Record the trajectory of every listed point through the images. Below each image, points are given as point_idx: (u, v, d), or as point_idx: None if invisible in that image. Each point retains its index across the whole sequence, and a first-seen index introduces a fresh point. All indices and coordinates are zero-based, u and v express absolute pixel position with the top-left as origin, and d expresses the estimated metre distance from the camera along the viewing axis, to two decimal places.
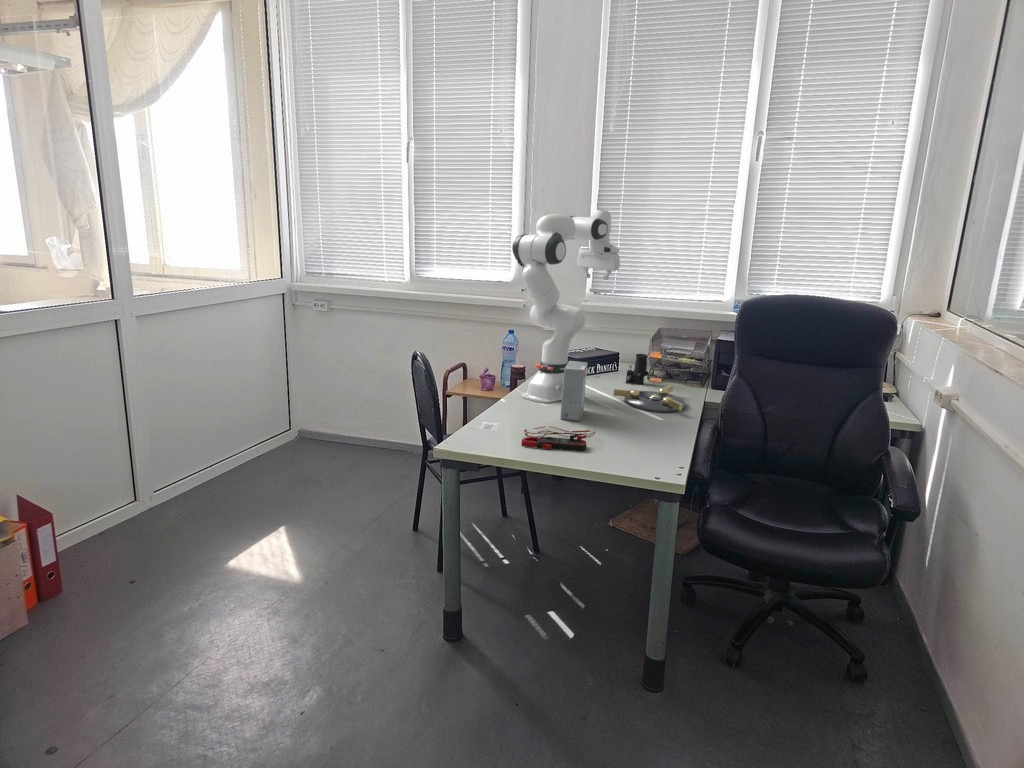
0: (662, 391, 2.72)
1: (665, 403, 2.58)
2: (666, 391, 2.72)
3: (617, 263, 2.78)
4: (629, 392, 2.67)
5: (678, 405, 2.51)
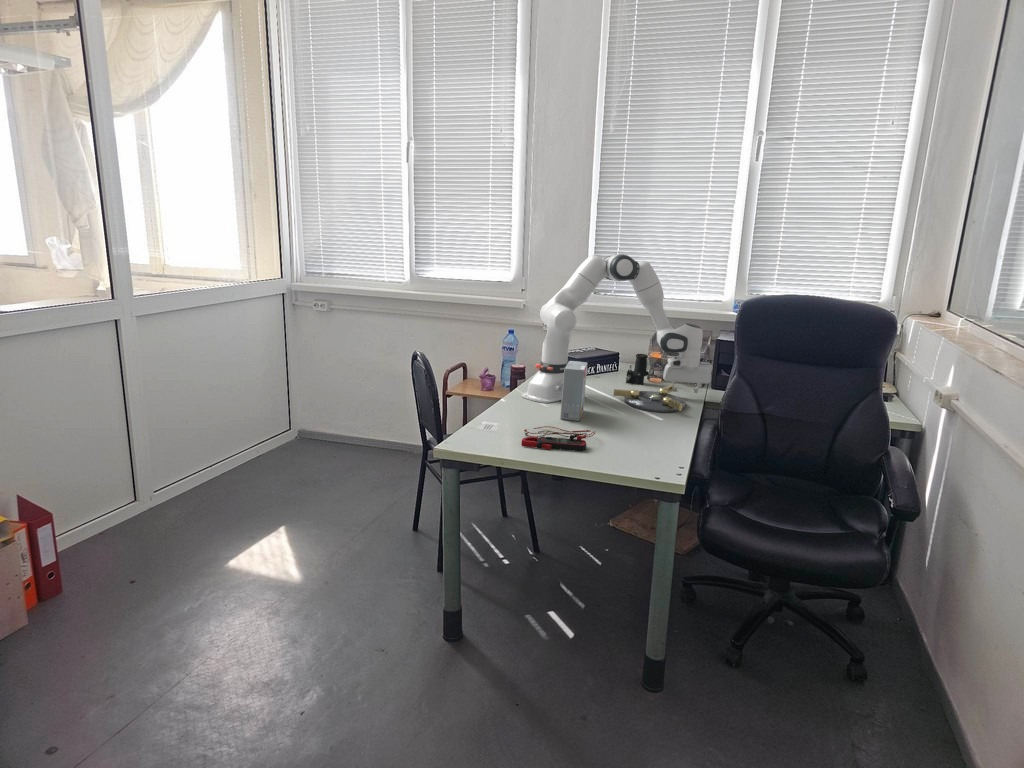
0: (662, 391, 2.72)
1: (665, 403, 2.58)
2: (666, 391, 2.72)
3: (664, 373, 2.77)
4: (629, 392, 2.67)
5: (678, 405, 2.51)
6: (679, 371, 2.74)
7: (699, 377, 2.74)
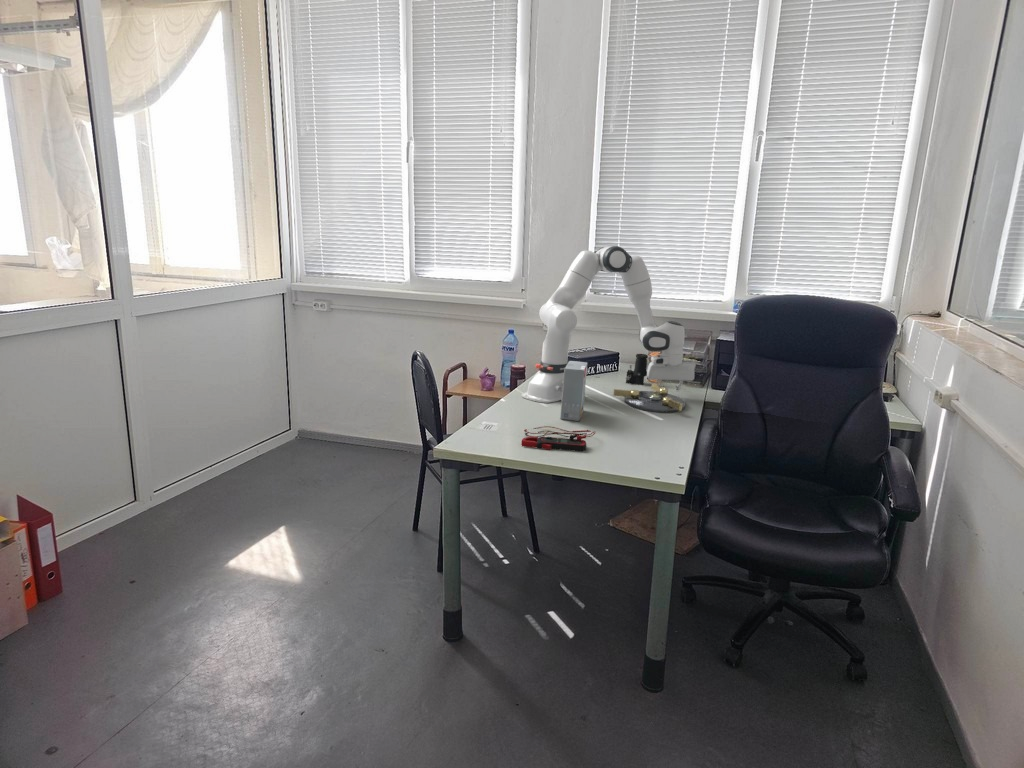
0: (666, 391, 2.72)
1: (665, 403, 2.58)
2: (667, 390, 2.73)
3: (647, 371, 2.77)
4: (629, 392, 2.67)
5: (678, 405, 2.51)
6: (662, 369, 2.75)
7: (682, 374, 2.74)
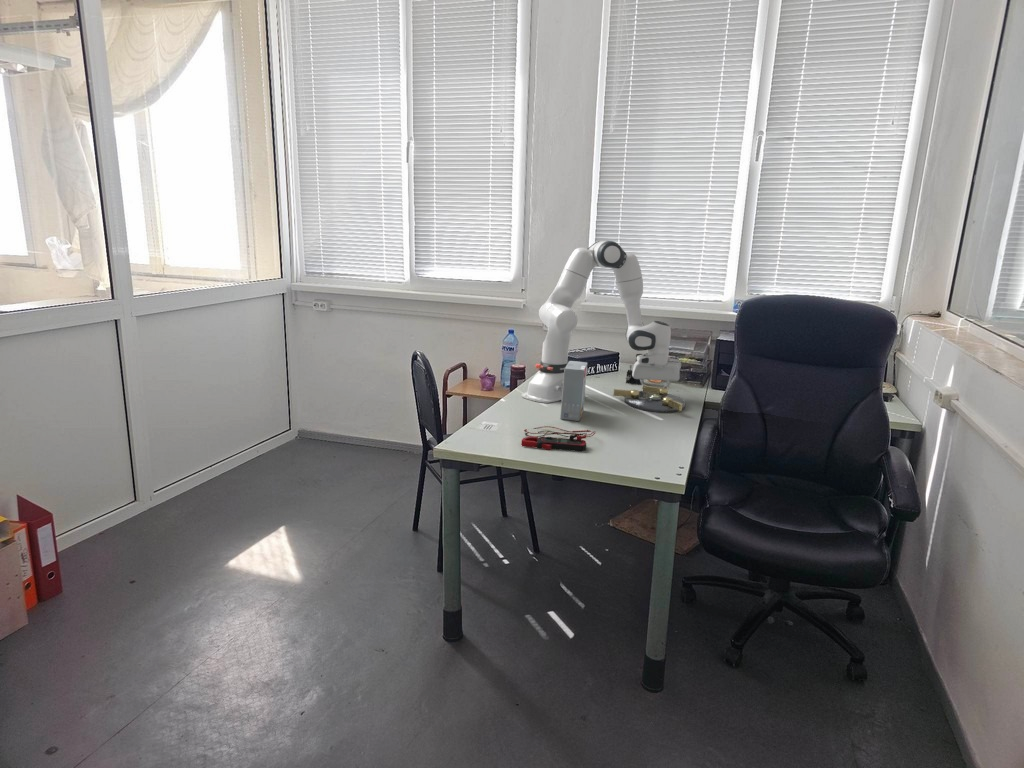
0: (667, 391, 2.73)
1: (665, 403, 2.58)
2: None
3: (633, 370, 2.77)
4: (629, 392, 2.67)
5: (678, 405, 2.51)
6: (648, 368, 2.74)
7: (668, 374, 2.74)
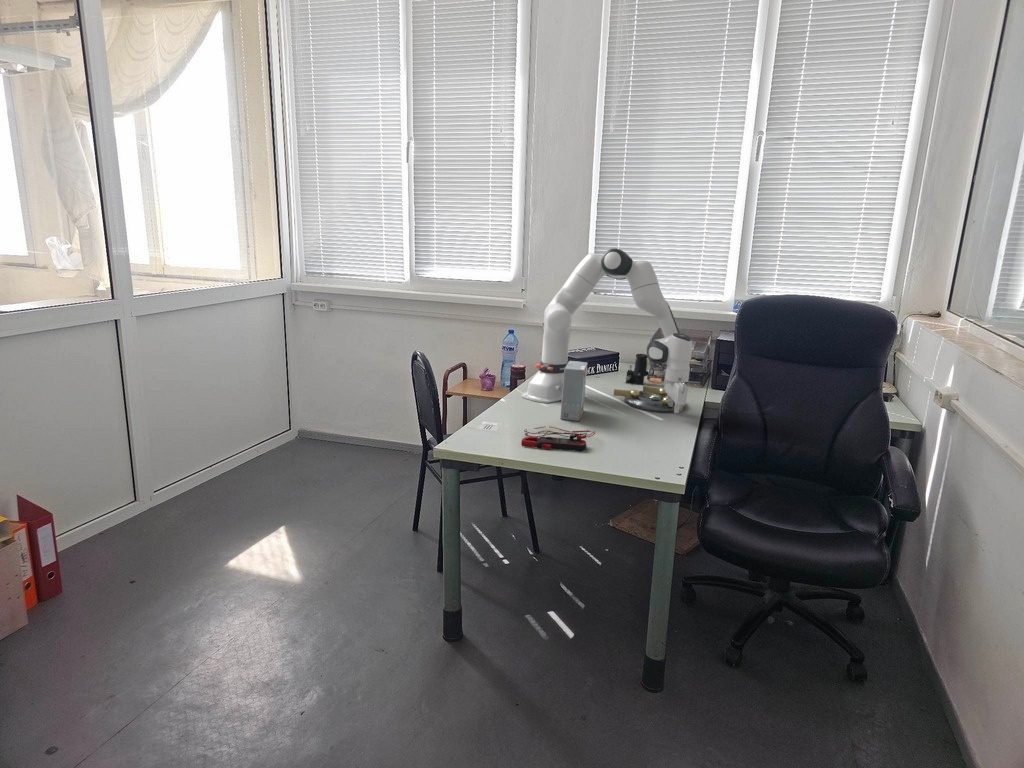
0: None
1: (665, 403, 2.58)
2: None
3: None
4: (629, 392, 2.67)
5: None
6: (669, 383, 2.52)
7: (673, 394, 2.44)
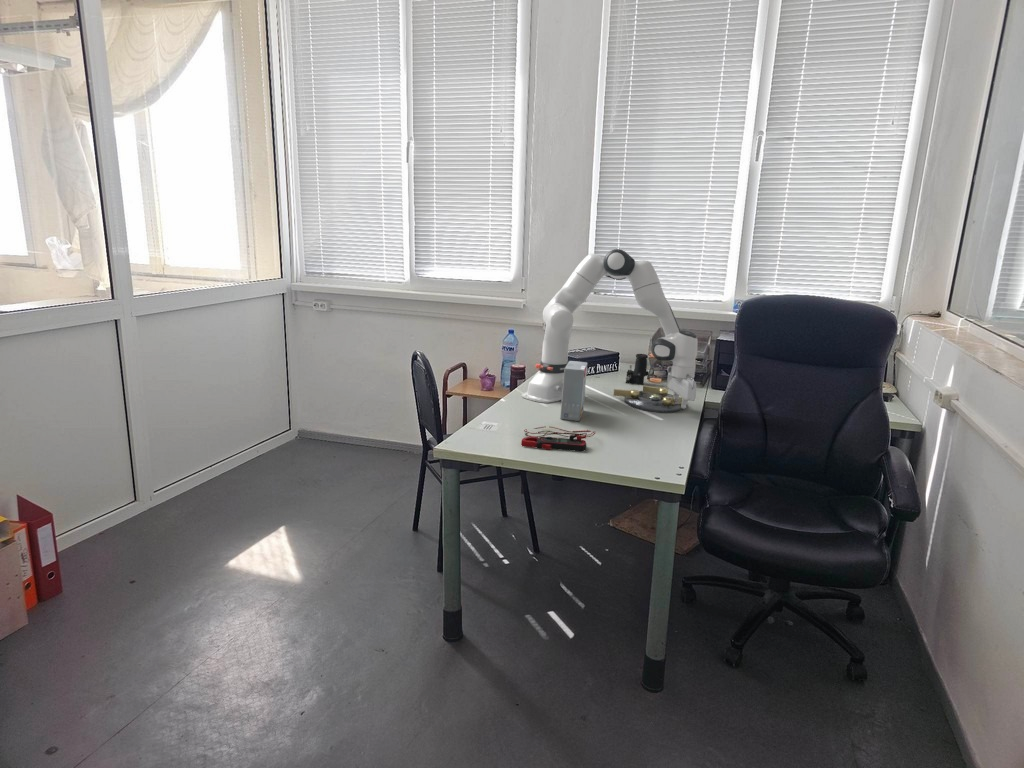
0: (667, 391, 2.73)
1: (671, 403, 2.58)
2: None
3: None
4: (629, 392, 2.67)
5: None
6: (674, 380, 2.57)
7: (682, 390, 2.49)
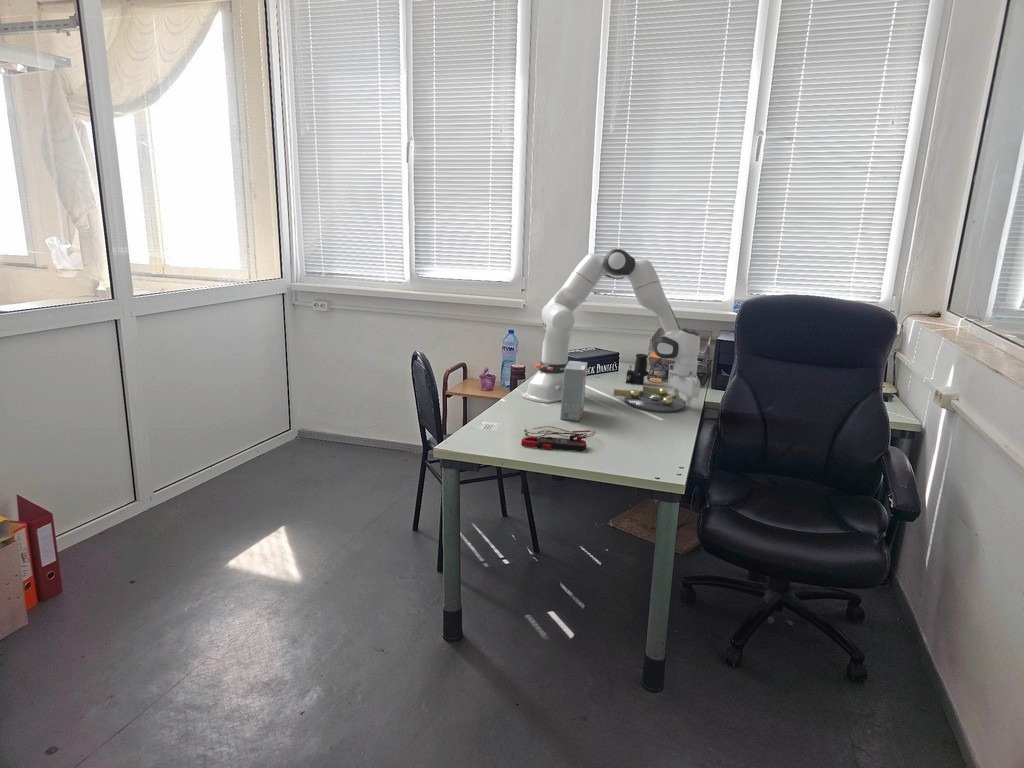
0: (667, 391, 2.73)
1: None
2: None
3: None
4: (629, 392, 2.67)
5: None
6: (676, 377, 2.60)
7: (685, 388, 2.52)
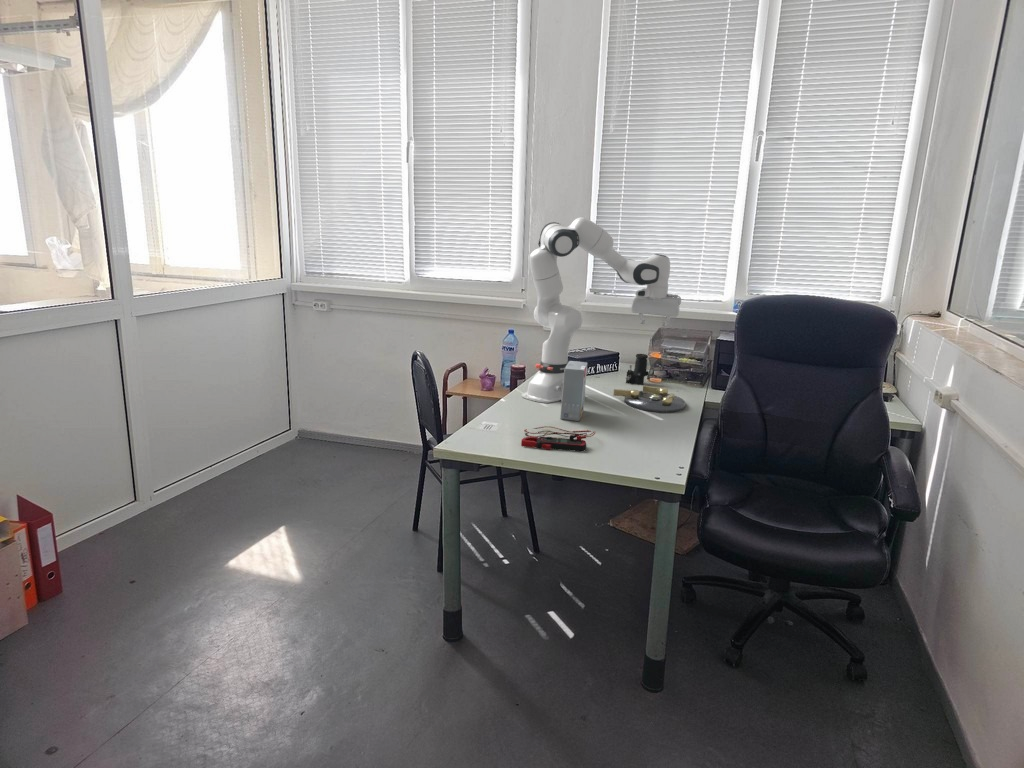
0: (667, 391, 2.73)
1: None
2: None
3: None
4: (629, 392, 2.67)
5: None
6: (645, 302, 2.71)
7: (666, 309, 2.68)
